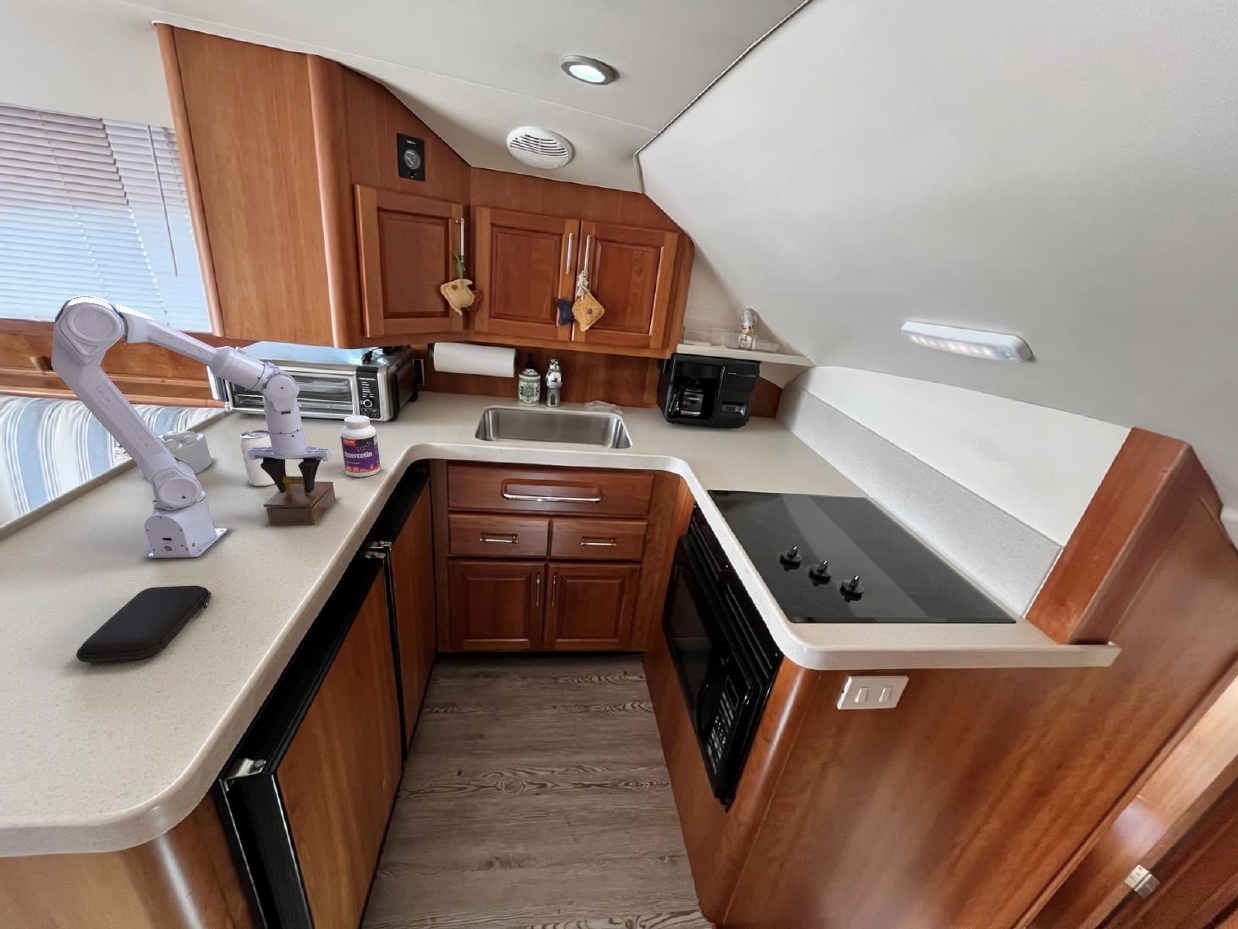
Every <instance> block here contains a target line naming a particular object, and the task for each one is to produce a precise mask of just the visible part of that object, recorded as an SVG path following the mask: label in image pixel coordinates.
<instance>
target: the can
mask: <svg viewBox="0 0 1238 929" xmlns="http://www.w3.org/2000/svg"><path fill="white" fill-rule="evenodd" d="M239 446H240V451H241V455H242V458H243V463H244V467H245V471H246V476H247V480H248V483H249V484H250V485H252V486H253V487H268V486H273V485H276V484H275V482H274V481H273V479H272V478H271V477H270V476H269V474H268V473H267V472H266V471H264V470H263V469H262V468H261V465H260V464H261V463H263V459H256V460H250V459H249V455H248V451H249V450H250V449H252V448H260V447H272V446H271V441H270V436H269V432H268V430H266V429H256V430H255V429H254V430H248V431H245V432H243V433H241V434H240V439H239Z"/></svg>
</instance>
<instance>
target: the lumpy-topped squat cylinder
mask: <svg viewBox="0 0 1238 929" xmlns="http://www.w3.org/2000/svg"><path fill="white" fill-rule="evenodd" d="M157 436H158V438H159V439H160V440H161V441H162V443H163V444H164V445H165V446H166V447H167V448H168V449H170V450H171V451H172V453H173V454H174V455H175V456H176V457H178V458H179V459H182V460H184V461H186V462H188V463H189V464H190V465H191V466H192V467H193V469H194V474H195V475H196V474H199V473H200V472H202V471H204V470H206V469H207V468H208V467H209V466H210V465H212V463H213V460H212V456H211V453H210V450H209V446H208V443H207V439H206V436H205V434H203V433H198V432H195V431H190V430H185V431H184V430H182V431H176V430H170V431H167V432H165V433H164V434H161V435H157Z"/></svg>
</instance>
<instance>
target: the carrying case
mask: <svg viewBox="0 0 1238 929" xmlns="http://www.w3.org/2000/svg"><path fill="white" fill-rule="evenodd" d="M211 598H212V591H209V590H208V588H206V587H204V586H201V585H197V584H196V585H176V586H175V585H174V586H152V587H148V588H147V587H146V588H145V589H143V590H141V591H139V592H138V593H137V594H136V595H135V596H134V597H132V598H131V599H130V600H129V601H128V602H127V603H125V605H123V606H122V607H121V608H120V609H119V610H118V611H117V612H116V613H114V614H113V615H112V616H111V617H110V618H109V619H108V620H106V621H105V622H104V623H103V624H102V625H101V626H100V627H99V628H98V629H97V630H96V631H94V632H93V633H92V635H90V636H88V638H87V639H86V640H85V641H84V642H83V643H82V644H81V646H80V647H79V648H78V649H77V651H76V658H77V660H78V661H80V662H82V663H91V664H93V663H106V662H107V663H108V662H120V661H121V662H122V661H136V660H145V659H150V658H152V657H154V656H156V655H157V654H158V653H160V652H161V651H162V649H165V648H166V647H167V646H168V644H169V643H170V642H171V641H172V640H173V639H174V638H175V637H176V636H177V634H178V633H179V632H180V631H181V630H182V629H183V628H184V627H185V626H186V625H187V623H188V622H189V621H190V620H191V619H192V618H193V617H194V616H195V614H196V613H197V612H198V611H199V610H200V609H201V608H202V607H203V608H204V609H207V608H208V607H209V604H210V601H211Z"/></svg>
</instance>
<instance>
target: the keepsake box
mask: <svg viewBox="0 0 1238 929" xmlns="http://www.w3.org/2000/svg"><path fill="white" fill-rule="evenodd" d="M334 487H335V486H334V484H333V485H332V486H331V487H330V488H329V489H328V490H327V491H326V492H325V493H324V494H323V495H322V496H321V497H320V498H319V499H318V500H317V501H316V502H315V503H314V504H313V505H312V507H265V511H266V515H267V520H268V524H269V525H316V524H317V523H318V522H319V521H320V519H321V518H322V517H323V515H324V514H325V513H326V512H327V511H328V509H329V508H330V507H331V506H332V504H333V503H334V502H336V500H337V499H336V494H335V488H334Z"/></svg>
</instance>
